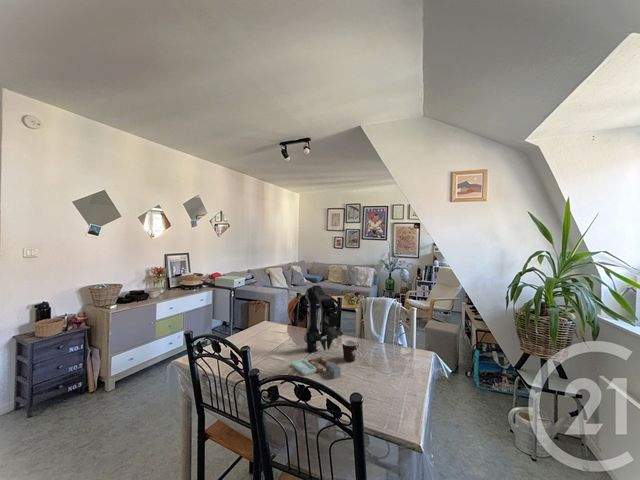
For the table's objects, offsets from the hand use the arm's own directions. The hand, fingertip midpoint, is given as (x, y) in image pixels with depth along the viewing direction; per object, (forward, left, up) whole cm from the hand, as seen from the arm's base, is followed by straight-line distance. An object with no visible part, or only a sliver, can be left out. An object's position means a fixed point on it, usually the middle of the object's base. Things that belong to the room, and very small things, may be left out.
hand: (326, 349), depth 152 cm
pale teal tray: (-8, -9, -11) cm, 17 cm away
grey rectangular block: (+6, 0, -11) cm, 13 cm away
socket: (-5, 0, -11) cm, 12 cm away
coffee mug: (-2, +20, -11) cm, 23 cm away
